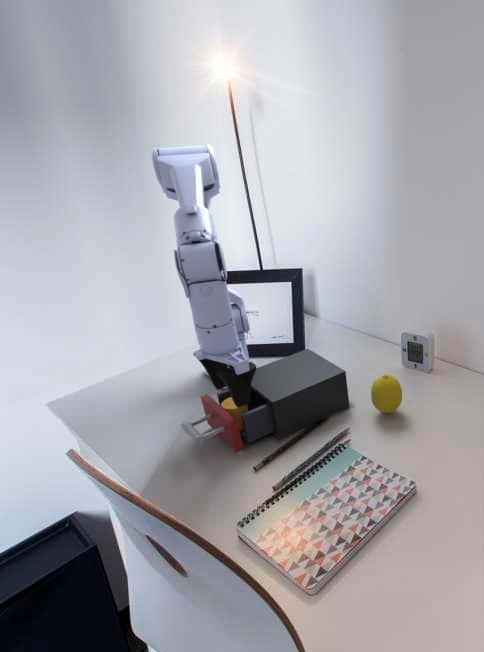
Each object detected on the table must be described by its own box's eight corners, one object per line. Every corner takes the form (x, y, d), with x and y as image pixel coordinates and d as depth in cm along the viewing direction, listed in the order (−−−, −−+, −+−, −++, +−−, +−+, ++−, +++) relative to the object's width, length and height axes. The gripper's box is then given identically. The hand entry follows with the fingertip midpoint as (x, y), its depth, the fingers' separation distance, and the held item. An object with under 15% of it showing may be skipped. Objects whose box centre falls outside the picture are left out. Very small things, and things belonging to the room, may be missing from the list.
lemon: (399, 423, 93) (397, 384, 89) (369, 420, 94) (365, 381, 90) (406, 405, 98) (404, 368, 94) (377, 403, 99) (374, 366, 95)
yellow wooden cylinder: (222, 424, 91) (217, 402, 89) (244, 415, 93) (239, 393, 91) (233, 434, 88) (227, 411, 86) (255, 424, 90) (250, 402, 88)
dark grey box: (279, 440, 90) (272, 402, 86) (245, 410, 98) (237, 375, 94) (349, 406, 98) (345, 371, 95) (312, 381, 106) (307, 348, 103)
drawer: (207, 467, 83) (199, 437, 80) (180, 435, 90) (171, 407, 87) (308, 419, 93) (304, 391, 90) (276, 395, 101) (271, 368, 98)
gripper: (170, 315, 84) (191, 388, 90) (209, 344, 74) (228, 423, 81) (213, 302, 88) (230, 373, 94) (255, 328, 78) (270, 405, 85)
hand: (232, 395), depth 88 cm, fingers open, 7 cm apart
